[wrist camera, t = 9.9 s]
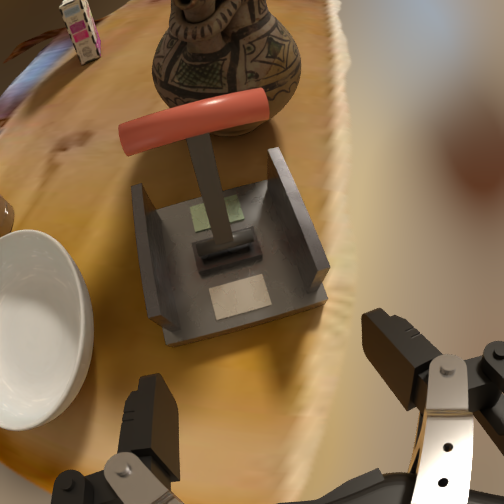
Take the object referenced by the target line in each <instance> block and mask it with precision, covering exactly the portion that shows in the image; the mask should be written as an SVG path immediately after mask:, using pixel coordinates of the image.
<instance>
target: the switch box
mask: <svg viewBox="0 0 504 504" xmlns="http://www.w3.org/2000/svg"><path fill="white" fill-rule="evenodd" d="M131 192H132V204H133V215H134V224H135V234H136V242H137V250H138V258H139V265H140V272H141V279H142V285H143V291H144V298H145V303H146V309H147V315H148V318H149V319H150V320H152V321H154V322H155V323H157V324H158V325H160V326H162V328H163V333H164V338H165V342H166V345H168V346H170V347H176V346H180V345H185V344H189V343H193V342H197V341H201V340H205V339H208V338H212V337H216V336H220V335H224V334H227V333H231V332H235V331H238V330H242V329H246V328H249V327H253V326H256V325H260V324H263V323H266V322H270V321H273V320H277V319H280V318H283V317H286V316H290V315H293V314H296V313H299V312H303V311H306V310H309V309H312V308H315V307H318V306H321V305H324V304H325V303H326V301H327V300H328V297H327V294H326V292H325V289H324V286H323V284H322V282H323V280H324V278H325V276H326V274H327V273H328V271H329V269H330V265H329V262H328V260H327V257H326V255H325V252H324V250H323V247H322V245H321V242H320V240H319V238H318V235H317V233H316V230H315V228H314V226H313V223H312V221H311V219H310V216H309V214H308V212H307V209H306V207H305V205H304V202H303V200H302V198H301V195H300V193H299V191H298V189H297V186H296V184H295V182H294V180H293V178H292V175H291V173H290V171H289V169H288V167H287V164H286V162H285V160H284V158H283V156H282V154H281V152H280V149H279V147H276V148H271V149H268V175H267V180H264V181H260V182H256V183H252V184H248V185H244V186H240V187H236V188H232V189H228V190H225V191H222V192H223V196H224V200H225V205H226V209H227V213H228V217H229V222H230V226H231V230H232V233H236V232H240V231H243V230H247V229H251V231H252V234H253V238H254V242H251V243H248V244H244V245H240V246H237V247H233V248H229V249H226V250H222V251H218V252H215V253H211V254H208V255H204V256H200V257H199V256H198V253H197V249H196V243H200V242H203V241H207V240H211V239H214V237H213V234H212V230H211V227H210V224H209V220H208V217H207V213H206V210H205V206H204V202H203V199H202V197H199V198H195V199H192V200H188V201H185V202H181V203H178V204H174V205H171V206H167V207H164V208H161V209H157V210H156V209H155V207H154V205H153V204H152V202H151V200H150V198H149V196H148V194H147V193H146V191H145V189H144V187H143V185H142V183H140V184H137V185H134V186H131Z"/></svg>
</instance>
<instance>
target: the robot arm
mask: <svg viewBox="0 0 504 504" xmlns="http://www.w3.org/2000/svg"><path fill="white" fill-rule="evenodd" d="M13 220H14V211H13V208H12V206H11V205H10V204H9V203H8V202H7V201H6V200H5V199H4V198H3V197H2V196H1V195H0V238H1V237H3V236H4V235H6V234H9V233H10V231H11V228H12V225H13ZM361 320H362V321H361V322H362V346H363V350H364V353H365V355H366V357H367V358H368V360H369V361H370V362H371V364H372V365H373V366H374V368H375V369H376V370H377V372H378V373H379V374H380V376H381V377H382V378H383V379H384V381H385V382H386V384H387V385H388V386H389V388H390V389H391V390H392V392H393V393H394V394H395V396H396V397H397V398H398V400H399V401H400V402H401V404H402V405H403V407H404V408H405V409H406V411H409V410H411V409H412V408H415V407H417V408H418V409H419V411H420V412H419V417H418V423H417V430H416V436H415V442H414V447H413V453H412V457H411V461H410V464H409V468H408V472H407V473H402V472H396V473H386V474H381V472H380V470H379V468H377V469H375V470H372V471H370V472H368V473H365V474H363V475H361V476H358V477H356V478H353V479H351V480H349V481H347V482H345V483H344V484H342V485H341V486H339V487H337V488H336V489H334V490H333V491H331V492H329V493H328V494H326V495H325V496H323V497H321V498H319V499H317V500H311V501H301V502H287V503H278V504H504V496H499V495H493V494H488V493H484V492H479V491H475V490H470V489H469V483H470V474H471V463H472V448H473V415H474V417H475V418H476V419H477V420H478V422H479V423H480V424H481V426H482V427H483V428H484V430H485V431H486V432H487V434H488V435H489V436H490V438H491V439H492V441H493V442H494V443H495V444H496V446H497V447H498V449H499V450H500V451H501V453H502V454H503V456H504V395H503V394H502V392H503V393H504V342H502V341H494V342H491V343H489V344H488V345H487V346H486V347H485V349H484V352H483V355H482V356H479V357H475V358H471V359H468V360H462V359H461V358H460V357H458V356H456V355H452V354H444V355H443V354H442V353H441V352H440V351H439V350H438V349H437V348H436V347H434V346H433V345H432V344H431V343H430V342H429V341H428V340H427V339H426V338H425V337H424V336H423V335H422V334H420V332H419V331H418V330H417V329H415V328H414V327H413V326H412V325H411V324H410V323H409V322H408V321H407V320H406V319H403V318H401V317H398V316H396V315H393V316H391V317H390V316H389V315H388V314H387V313H386V312H385V311H383V309H381V308H377V309H375V310H372V311H370V312H367V313H364V314H363V315H362V318H361ZM122 421H123V423H122V424H121V431H120V438H119V444H118V452H117V454H115V455H114V456H112V457H111V458H110V459H109V460H108V461H107V463H106V464H105V467H104V470H102V471H99V472H96V473H93V474H90V475H87V476H83V475H82V474H81V473H80V472H78V471H76V470H67V471H64V472H62V473H61V474H60V475H59V476H58V477H57V478H56V480H55V482H54V487H53V493H52V500H51V504H184V503H183V502H182V501H181V500H180V499H179V498H178V497H177V496H176V495H175V494H174V493H173V492H171V482H176V481H180V462H179V418H178V408H177V404H176V401H175V399H174V397H173V396H172V394H171V392H170V390H169V389H168V387H167V385H166V383H165V381H164V379H163V378H162V376H161V375H160V374H159V373H157V374H152V375H147V376H142V377H140V379H139V385H138V391H132V392H131V393H130V395H129V397H128V398H127V400H126V401H125V406H124V414H123V418H122Z"/></svg>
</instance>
